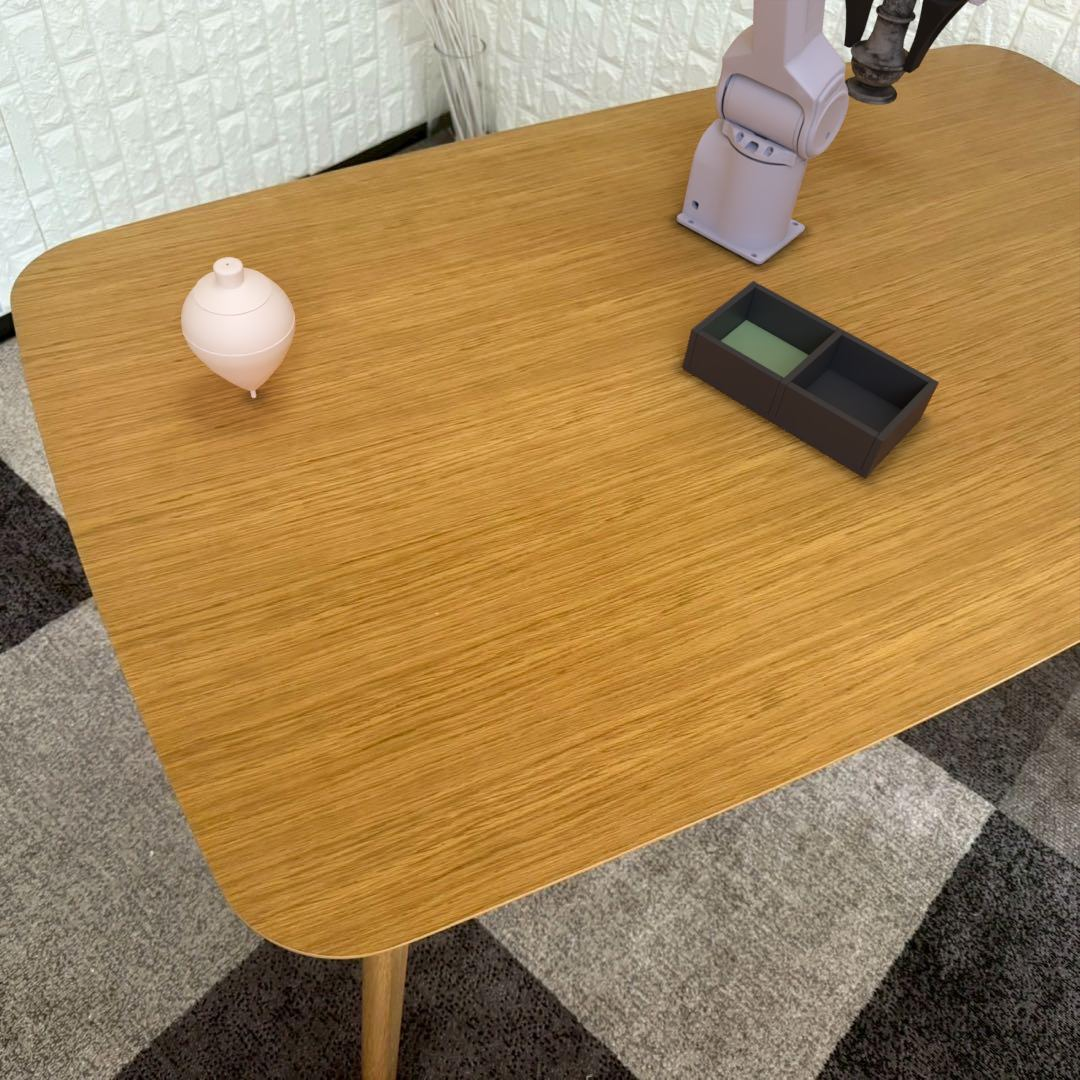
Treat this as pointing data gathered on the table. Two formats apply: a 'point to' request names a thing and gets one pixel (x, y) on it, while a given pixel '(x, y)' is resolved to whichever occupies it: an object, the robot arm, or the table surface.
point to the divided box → (809, 377)
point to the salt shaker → (881, 54)
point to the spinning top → (238, 323)
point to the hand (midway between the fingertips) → (881, 56)
